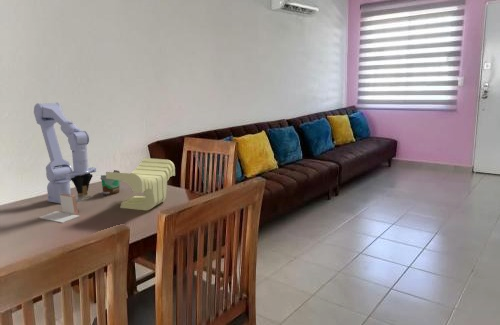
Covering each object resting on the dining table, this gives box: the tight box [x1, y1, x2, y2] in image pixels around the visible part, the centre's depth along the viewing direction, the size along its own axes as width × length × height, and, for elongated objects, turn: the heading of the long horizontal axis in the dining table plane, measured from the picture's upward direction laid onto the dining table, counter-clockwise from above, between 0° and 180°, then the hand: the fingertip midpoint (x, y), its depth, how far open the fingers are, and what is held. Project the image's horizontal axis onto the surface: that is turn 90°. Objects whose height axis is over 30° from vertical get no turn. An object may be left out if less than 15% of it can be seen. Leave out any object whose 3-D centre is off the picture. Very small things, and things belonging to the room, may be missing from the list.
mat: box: [38, 210, 80, 224], centre depth 157 cm, size 13×8×1 cm, turn 66°
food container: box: [100, 169, 121, 196], centre depth 191 cm, size 12×6×10 cm, turn 168°
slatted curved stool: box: [105, 157, 176, 211], centre depth 172 cm, size 30×16×18 cm, turn 165°
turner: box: [75, 185, 91, 203], centre depth 165 cm, size 8×6×5 cm
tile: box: [60, 193, 79, 215], centre depth 161 cm, size 7×2×8 cm, turn 66°
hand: (82, 191), depth 167 cm, fingers closed on turner, 2 cm apart
